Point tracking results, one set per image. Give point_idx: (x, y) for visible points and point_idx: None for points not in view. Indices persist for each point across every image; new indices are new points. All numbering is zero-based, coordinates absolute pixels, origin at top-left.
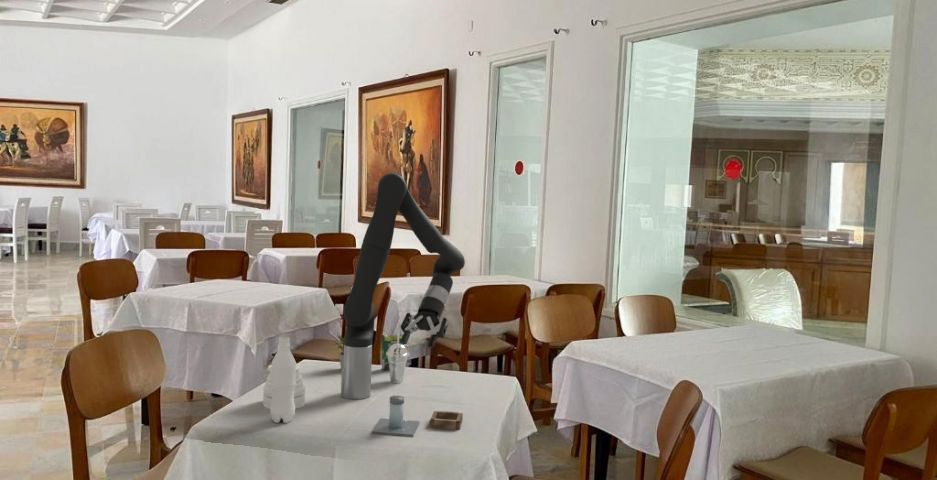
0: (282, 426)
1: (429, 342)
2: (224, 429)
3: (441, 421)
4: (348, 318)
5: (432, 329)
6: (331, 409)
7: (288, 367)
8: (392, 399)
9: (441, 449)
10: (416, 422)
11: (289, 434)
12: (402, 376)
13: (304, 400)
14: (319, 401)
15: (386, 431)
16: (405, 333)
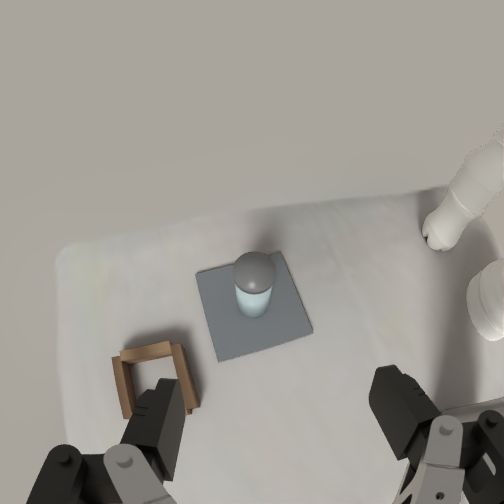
0: (414, 219)
1: (164, 387)
2: (441, 186)
3: (152, 345)
4: None
5: (153, 496)
6: (430, 332)
7: (466, 159)
8: (258, 252)
9: (127, 244)
10: (221, 348)
11: (381, 198)
12: None
13: (478, 322)
14: (469, 355)
15: None
16: (420, 400)
